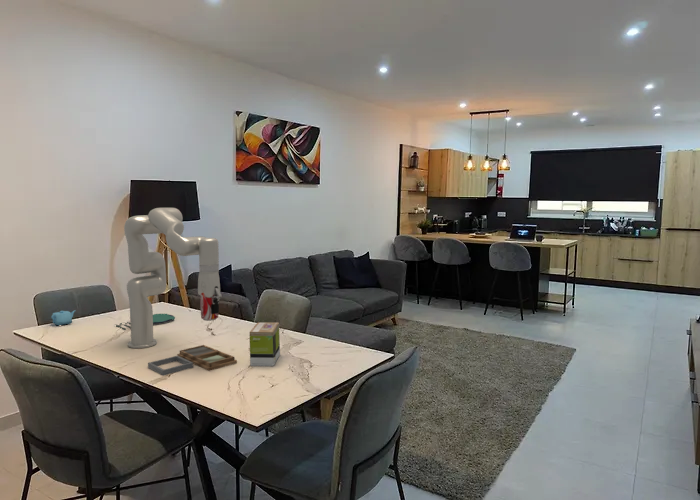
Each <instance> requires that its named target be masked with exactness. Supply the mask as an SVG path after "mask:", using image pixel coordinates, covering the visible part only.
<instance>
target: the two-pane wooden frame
mask: <svg viewBox="0 0 700 500" xmlns="http://www.w3.org/2000/svg"><path fill="white" fill-rule="evenodd" d="M176 356H179V357H182V358H184V359H186V360H188V361H190V362H193V366H194V365H195V366H196V367H200V368H202V369H203V370H205V371H208V372H211V371H215V370H217V369H221V368H225V367H228V366H231V365H236V364H237V363H238V361H237V359H235V356H234V355H232V354H231V355H230V354H228V353H226V352H223V351H220V350H218V349H215V348H213V347H211V346H208V345H204V344H202V345H198V346H197V345H196V346H194V347H189V348H184V349H181V350H179V353H177V355H176Z"/></svg>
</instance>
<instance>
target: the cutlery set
mask: <svg viewBox="0 0 700 500" xmlns="http://www.w3.org/2000/svg"><path fill="white" fill-rule="evenodd" d="M175 319H176V316H175V315H172V314H168V313H154V314H153V325H155V324H162V323H166V322H170V321H174V320H175ZM122 323H123V322H121V323H119V325H118V324H115V325H116V327H115V328H119V327H120V328H119V329H121V328H122V329H121V330H123V331H126V330H127V327H128V328H130V329H131V324H130V322H129V321H127V322H124V323H125V324H122ZM128 323H129V325H128ZM120 324H121V325H124V326H123V327H122V326H121V325H120ZM126 324H127V325H126ZM125 327H126V328H125Z"/></svg>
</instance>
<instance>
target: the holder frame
mask: <svg viewBox="0 0 700 500" xmlns="http://www.w3.org/2000/svg"><path fill="white" fill-rule="evenodd" d="M174 362H177V363H180V364H181V365H176V366H173V367H169V368H165V369H164V368H162V367H160V366H163V365H167V364H171V363H174ZM147 368H148V369H150V370H152V371H154V372H155V373H158V374H159V375H161V376H167V375H171V374H174V373H177V372H182V371H186V370H188V369H193V368H194V364H193V362H190V361H188V360H186V359H184V358H182V357H179V356H177V355H175V356H171V357H167V358H162V359H158V360H154V361H150V362H147Z"/></svg>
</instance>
